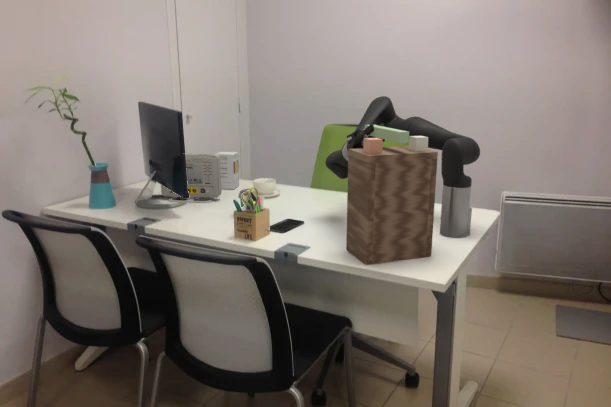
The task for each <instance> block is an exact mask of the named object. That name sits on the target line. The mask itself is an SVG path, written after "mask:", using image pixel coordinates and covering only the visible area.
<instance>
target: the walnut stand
mask: <svg viewBox="0 0 611 407" xmlns="http://www.w3.org/2000/svg"><path fill="white" fill-rule="evenodd" d="M438 154H439V151H434V150H430V149H428V151H412V150H409V145H400V146H382V153H381V154H368V153H364V152H363V148H359V149H348V178H347V194H346V195H347V199H346V200H347V202H346V203H347V205H346V239H345V240H346V244H345V245H346V247H345V248H346V249H345V250H346V251H347V252H348V253H349V254H350V255H352V256H353V257H354V258H356V259H357V260H359V261H360V262H361V263H363V264H364V265H365V266H369V265H376V264H385V263H392V262H398V261H399V262H401V261H406V260H412V259H415V260H416V259H420V258H421V259H422V258H429V257H432V252H433V251H432V250H433V249H432V248H433V233H434V219H435V218H434V217H435V204H436V203H435V202H436V185H437V170H438Z"/></svg>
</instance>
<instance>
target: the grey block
mask: <svg viewBox="0 0 611 407" xmlns="http://www.w3.org/2000/svg"><path fill="white" fill-rule="evenodd" d="M408 146H409V150H412V151H428V150H429V148H428V137H425V136H409V142H408Z"/></svg>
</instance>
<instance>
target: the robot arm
mask: <svg viewBox="0 0 611 407" xmlns="http://www.w3.org/2000/svg"><path fill="white" fill-rule="evenodd" d="M365 125H369V126H368V127H367V128H365ZM374 125H378V126H383V127H388V128H393V129H398V130H403V131H408V132H409V136H425V137H428V149H433V150H440V151H441V169H440V170H441V172H440V173H441V178H442V195H441V196H442V197H441V211H440V222H439V223H440V226H439V233H440V235H442V236H444V237H448V238H449V237H450V238H465V237H467V236H469V235H471V227H472V226H471V225H472V215H473V211H472V210H473V208H472V207H470V206H471V193H472V177H471V176H469V175H466V174H465V173H464V166H468V165H470V164H473V163H474V162H475V163H476V162H477V161H478V159H479V158H480V156H481V149H480V145H479V144H478V142H477V141H476V140H475V139H473V138H471V137H468V136H466V135H462V134H459V133H455V132H452V131H450V130H448V129H446V128H444V127H442V126H439V125H437V124H435V123H433V122H432V121H429V120H427V119H425V118H423V117H420V116H411V117H407V118H405V119H404V118H402V117H401V116H398V114H397V113H396V111H395V108H394V104H393V102H392V99H391V98H390V97H388V96H385V95H384V96H383V95H382V96H379V97H376V98H374V99H373V100H372V101H371V102H370V104H369V105H368V107H367V109H366V110H365V112H364V113H363V115H362V118H361V119H360V121H359V123H358V125H357V127H356V128H355V130H354V131H353V132H352V133H349V134H348V135H346V142H345V143H344V144H343V145H342V147H341V148H340V149H338V150H335V151H333V152H331V153H330V154H329V155H327V157H326V158H325V162H324V163H325V167H326V168H327V169H328V170H329V171H331V172H332V173H333V174H334V175H335V176H336V177H338V178H339V179H340V180H344V179H348V149H359V148H363V145H364V138H378V137H373V136H369V135H370V134H371V133H372V132H373V131H374ZM379 139H382V138H379ZM385 141H386V139H383V143H384V142H385Z"/></svg>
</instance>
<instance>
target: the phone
mask: <svg viewBox="0 0 611 407" xmlns="http://www.w3.org/2000/svg"><path fill="white" fill-rule="evenodd" d="M304 224H305V221H304V220H300V219H293V218H285V219H283V220H281V221H277V223H273V224H271V225H269V226H270V231H269V232H272V233H278V234H285V233H288V232H289V231H292V230H294V229H296V228H299V227H300V226H302V225H304Z"/></svg>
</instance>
